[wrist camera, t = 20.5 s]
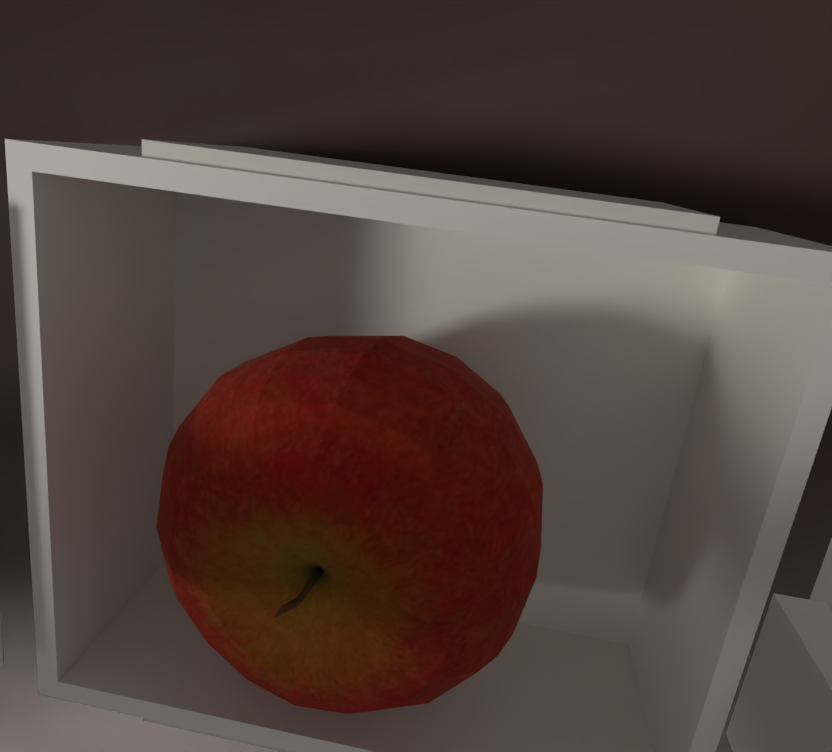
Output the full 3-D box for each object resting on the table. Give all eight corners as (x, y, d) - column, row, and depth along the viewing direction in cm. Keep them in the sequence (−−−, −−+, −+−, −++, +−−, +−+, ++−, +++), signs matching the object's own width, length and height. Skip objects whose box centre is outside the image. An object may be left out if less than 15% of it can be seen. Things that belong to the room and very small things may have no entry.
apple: (228, 353, 19) (-2, 496, 12) (479, 233, 16) (366, 332, 9) (357, 577, 21) (221, 819, 14) (608, 508, 17) (597, 776, 10)
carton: (164, 564, 22) (39, 704, 16) (168, 135, 18) (3, 121, 12) (636, 658, 20) (683, 849, 15) (759, 214, 16) (888, 239, 11)
